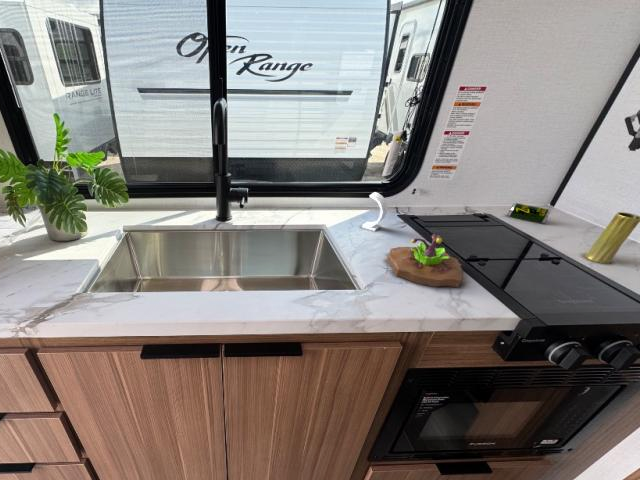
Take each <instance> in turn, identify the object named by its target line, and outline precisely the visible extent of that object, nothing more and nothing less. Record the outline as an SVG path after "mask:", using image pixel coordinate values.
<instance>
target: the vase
mask: <svg viewBox="0 0 640 480" xmlns="http://www.w3.org/2000/svg"><path fill="white" fill-rule="evenodd" d="M638 224H640V215H637V214H635V213H630V212H623V211H618V212H617V213H616V214H615V215H614V216H613V218H612V219H611V221H610V222H609V223H608V225H606V227H605V228H604V230H603V231H602V232H601V234H600V235H599V237H598V238H597V239H596V240H595V242H593V244H592V245H591V246H590V248H589V249H588V251H587V252H586V253H585V254H584V257H585V258H586V259H587V260H590V261H592V262H595V263H599V264H610V263H611V262H612V261H613V259H614V257H615V256H616V254H617V253H618V252H619V250H620V249H621V247H622V245H623V244H624V243H625V241H626V240H627V239H628V238H629V236H630V235H631V234H632V232H633V231H634V230H635V229H636V227H638Z"/></svg>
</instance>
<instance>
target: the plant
mask: <svg viewBox="0 0 640 480" xmlns="http://www.w3.org/2000/svg"><path fill="white" fill-rule="evenodd" d="M431 239H432V241H431V244H429V243H428V242H427V241H426V240H425V239H423V238H417V237H415V238H414V237H413V238H412V239H411V241H410V243H412V244H416V243H417V242H419V245H416V246H398V247H397V246H396V247H393V248H392V247H391V248H390V251H389V254H388V256H387V259H386V262H387V263H388V265H389V266H390V268H391V269H392V271H393V273H394V275H395V276H396V277H398V278H402V279H404V280H408V281H410V282H412V283H415V284H418V285H423V286H429V287H434V288H438V287H451V288H452V287H453V288H459V286H460V285H461V283H462V281H463V267H462V266H463V264H461V263H460V262H459V259H457V258H455V257H453V256H451V255H450V254H449V253H448V252H446V248H445V247H438V248H436V247H437V246H436V245H437V244H441V243H442V242H443V238H442V236H441V235H440V234H439V235H437V234H436V233H433V234H432V235H431ZM457 284H459V285H457Z"/></svg>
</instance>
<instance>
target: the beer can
mask: <svg viewBox="0 0 640 480" xmlns="http://www.w3.org/2000/svg"><path fill="white" fill-rule="evenodd" d="M551 212H552V211H551V209H549V208H544V207H538V206H533V205H529V204H524V203H517V202H515V203H514V202H513V203H512V204H511V207H509V210H508V211H507V214H506V216H508V217H510V218H514V219H519V220H522V221H523V220H525V221H529V222H533V223H538V224H544V223H545V222H546V221H547V219H548V218H549V215H550V214H551Z"/></svg>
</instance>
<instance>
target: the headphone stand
mask: <svg viewBox="0 0 640 480" xmlns="http://www.w3.org/2000/svg"><path fill="white" fill-rule="evenodd" d="M368 196H369V197H368V198H370V199H372V200H374V201H375V202H376V203H377V205H378V207H379V216H378V218H377V219H376V221H366V222H365V223H363V224H362V225H361V228H362V229H365V230H369V231H373V232H375V231H378V229H380V227H381V225H380V224H379V223H381V221H383V220H384V219H385V217H386V215H387V213H388V203H387V200H386V198H385V197H384V196H383V195H382V194H380V193H379V192H376V191H374V192H372V193H371V194H369V195H368Z"/></svg>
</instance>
